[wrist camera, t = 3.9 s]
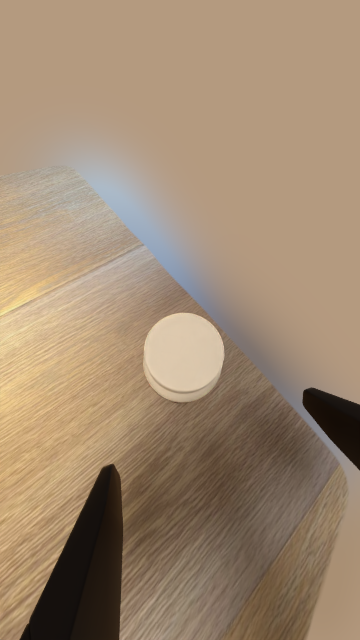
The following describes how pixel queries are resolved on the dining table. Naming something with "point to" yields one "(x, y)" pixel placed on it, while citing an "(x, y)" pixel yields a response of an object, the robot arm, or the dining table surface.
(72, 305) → the dining table surface
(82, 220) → the dining table surface
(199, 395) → the pill bottle
